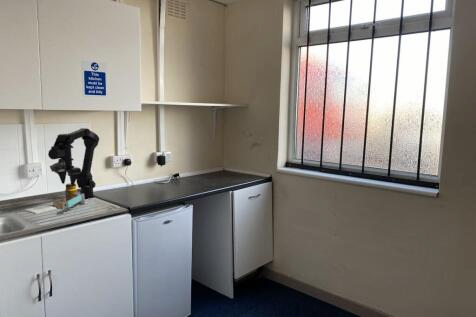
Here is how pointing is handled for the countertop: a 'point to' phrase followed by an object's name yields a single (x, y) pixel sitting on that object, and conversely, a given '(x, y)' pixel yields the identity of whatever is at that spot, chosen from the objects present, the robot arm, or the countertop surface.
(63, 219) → the countertop surface
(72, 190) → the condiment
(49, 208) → the mat
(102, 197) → the countertop surface
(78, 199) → the bar
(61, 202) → the holder
